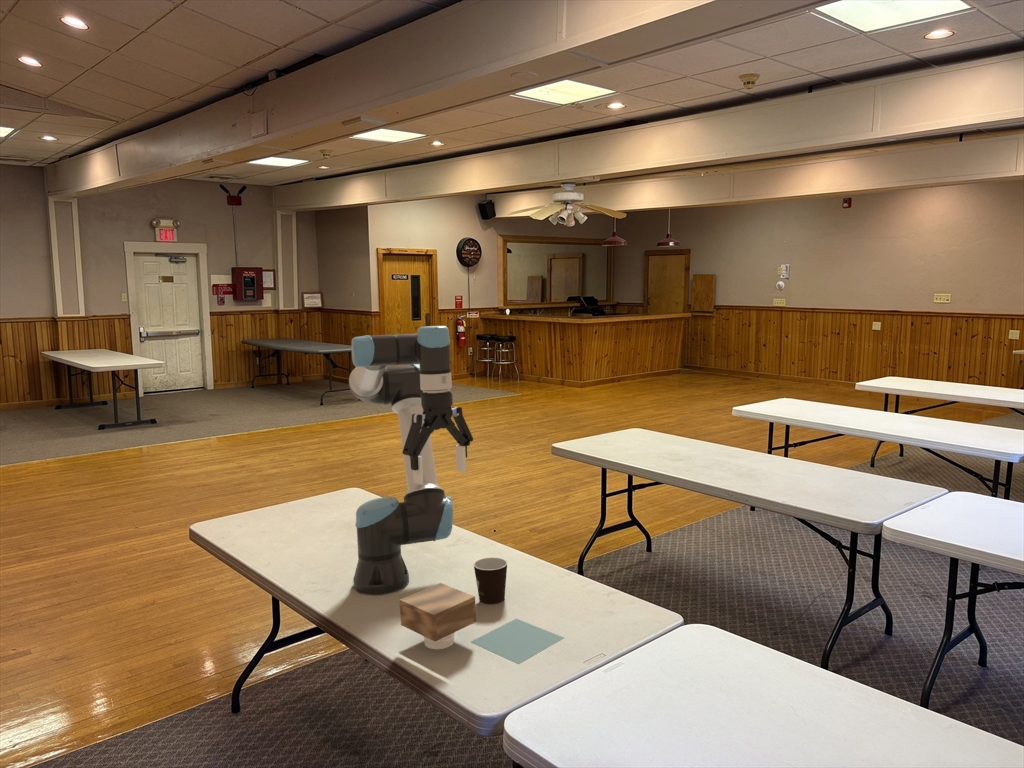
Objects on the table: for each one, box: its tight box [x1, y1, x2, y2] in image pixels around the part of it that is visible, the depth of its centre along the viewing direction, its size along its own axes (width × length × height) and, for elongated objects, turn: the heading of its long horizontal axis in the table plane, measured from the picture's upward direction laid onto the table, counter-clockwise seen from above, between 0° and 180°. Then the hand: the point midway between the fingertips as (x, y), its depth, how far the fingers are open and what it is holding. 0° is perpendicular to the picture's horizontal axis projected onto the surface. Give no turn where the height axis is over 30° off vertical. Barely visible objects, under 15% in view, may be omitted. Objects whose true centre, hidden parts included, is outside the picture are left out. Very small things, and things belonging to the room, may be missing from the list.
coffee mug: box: [473, 556, 508, 605], centre depth 182 cm, size 12×9×10 cm
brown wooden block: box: [399, 582, 477, 641], centre depth 158 cm, size 12×12×6 cm
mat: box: [470, 618, 565, 665], centre depth 159 cm, size 15×15×1 cm
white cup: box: [423, 632, 455, 650], centre depth 158 cm, size 8×8×10 cm
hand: (440, 477), depth 171 cm, fingers open, 13 cm apart
